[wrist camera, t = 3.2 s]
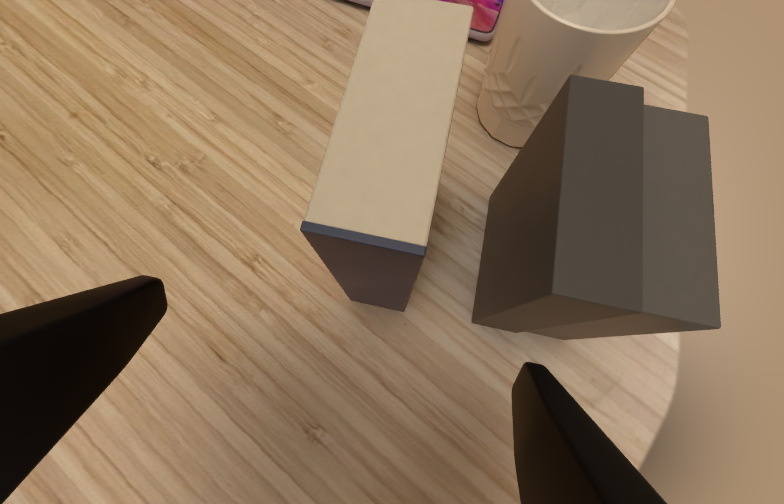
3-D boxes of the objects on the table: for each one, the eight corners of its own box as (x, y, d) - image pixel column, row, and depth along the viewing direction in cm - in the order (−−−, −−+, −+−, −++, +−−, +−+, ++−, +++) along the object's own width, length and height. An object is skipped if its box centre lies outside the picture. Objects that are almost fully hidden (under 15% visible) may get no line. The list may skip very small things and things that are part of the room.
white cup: (466, 150, 25) (515, 24, 15) (470, 65, 27) (515, -91, 18) (573, 161, 25) (690, 40, 15) (569, 75, 27) (668, -78, 17)
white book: (403, 312, 22) (425, 256, 9) (350, 300, 22) (299, 229, 9) (430, 184, 24) (474, 5, 12) (382, 174, 24) (376, -12, 12)
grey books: (564, 343, 21) (740, 334, 11) (471, 322, 21) (551, 294, 11) (573, 213, 24) (723, 101, 13) (490, 196, 24) (570, 73, 13)
